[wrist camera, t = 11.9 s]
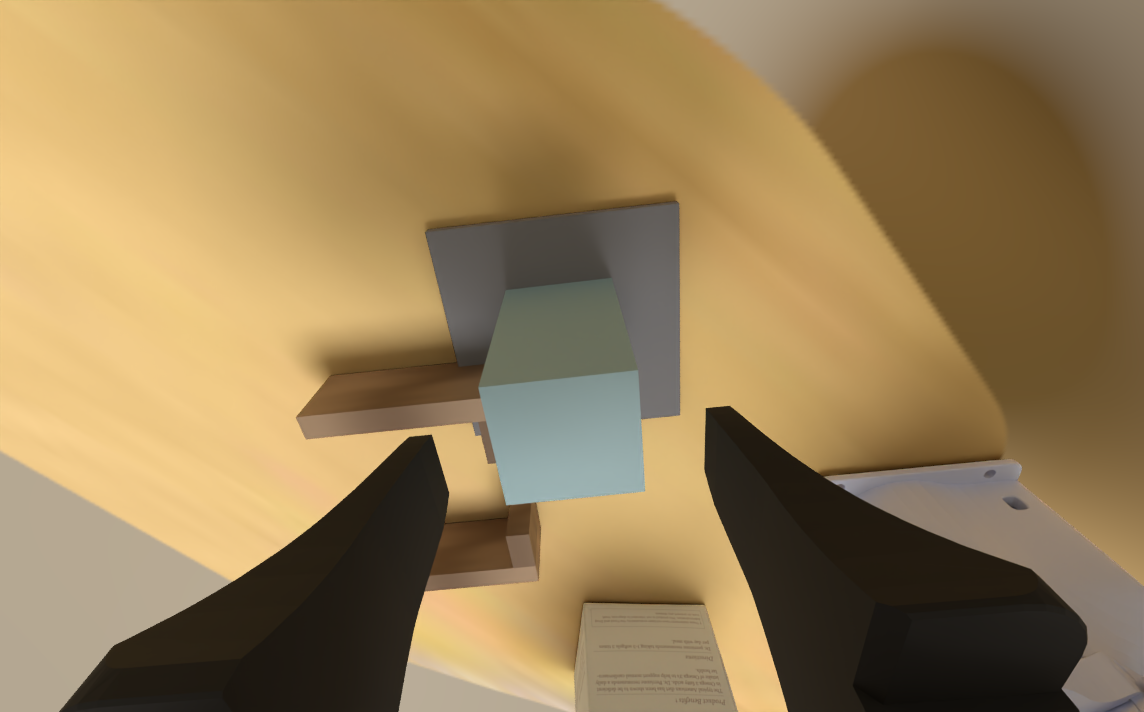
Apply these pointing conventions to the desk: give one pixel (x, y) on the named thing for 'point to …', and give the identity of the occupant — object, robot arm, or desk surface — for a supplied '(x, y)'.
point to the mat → (571, 254)
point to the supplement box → (649, 660)
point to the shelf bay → (425, 402)
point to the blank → (563, 395)
